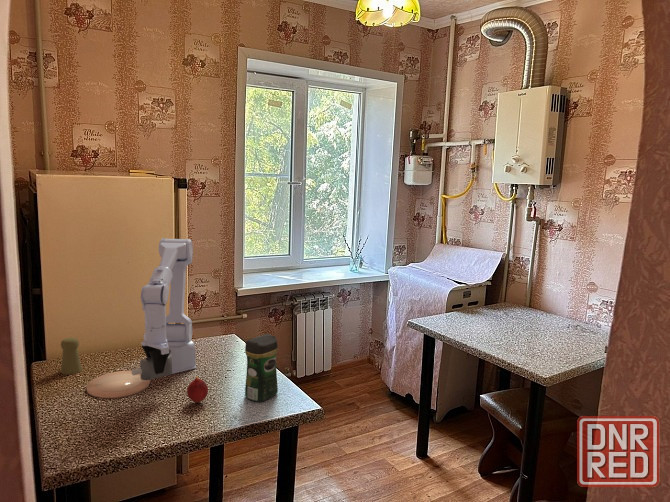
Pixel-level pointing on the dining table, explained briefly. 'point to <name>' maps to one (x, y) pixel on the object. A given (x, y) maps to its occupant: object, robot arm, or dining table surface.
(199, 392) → the onion
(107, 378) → the plate
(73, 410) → the dining table surface
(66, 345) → the cork
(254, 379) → the coffee jar
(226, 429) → the dining table surface
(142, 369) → the connector
